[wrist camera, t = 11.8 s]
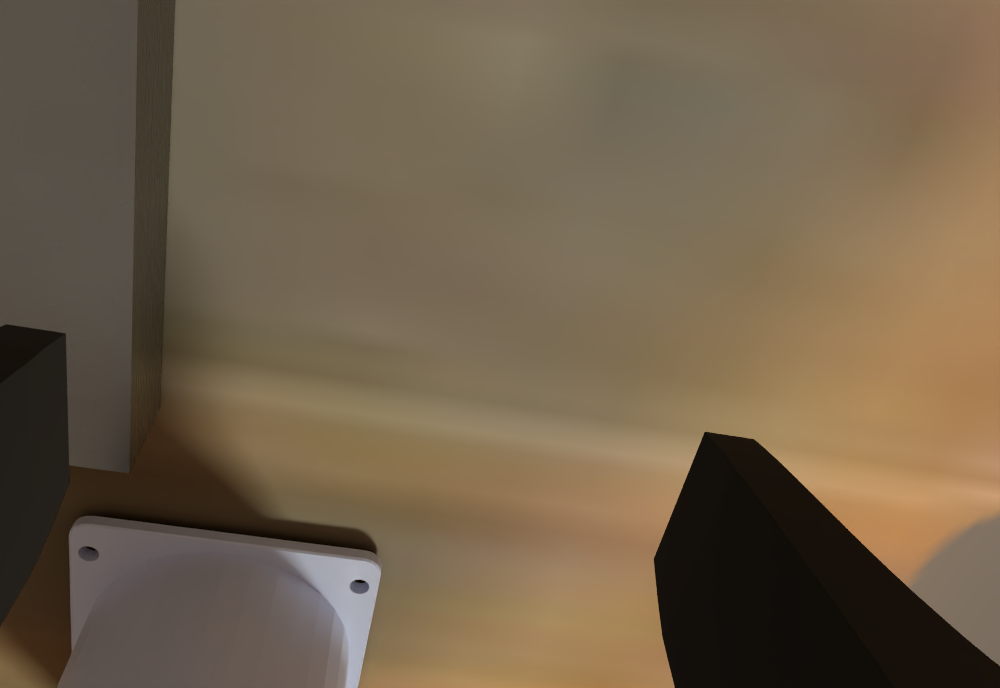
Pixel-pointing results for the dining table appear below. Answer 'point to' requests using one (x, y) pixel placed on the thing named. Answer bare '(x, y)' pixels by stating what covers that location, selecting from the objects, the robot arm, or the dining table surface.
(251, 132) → the dining table surface
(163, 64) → the housing
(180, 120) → the dining table surface
